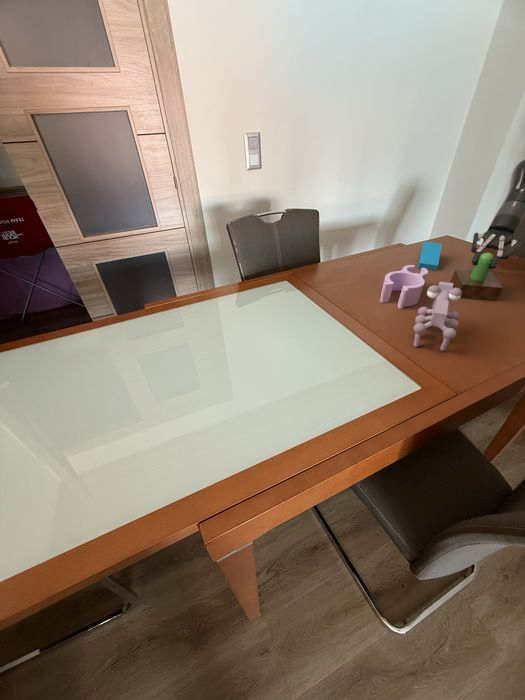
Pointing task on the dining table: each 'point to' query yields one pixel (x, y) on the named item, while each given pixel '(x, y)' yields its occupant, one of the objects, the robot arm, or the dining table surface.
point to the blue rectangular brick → (430, 255)
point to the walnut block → (476, 286)
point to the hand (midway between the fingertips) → (482, 266)
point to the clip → (404, 285)
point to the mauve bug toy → (439, 313)
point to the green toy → (482, 267)
